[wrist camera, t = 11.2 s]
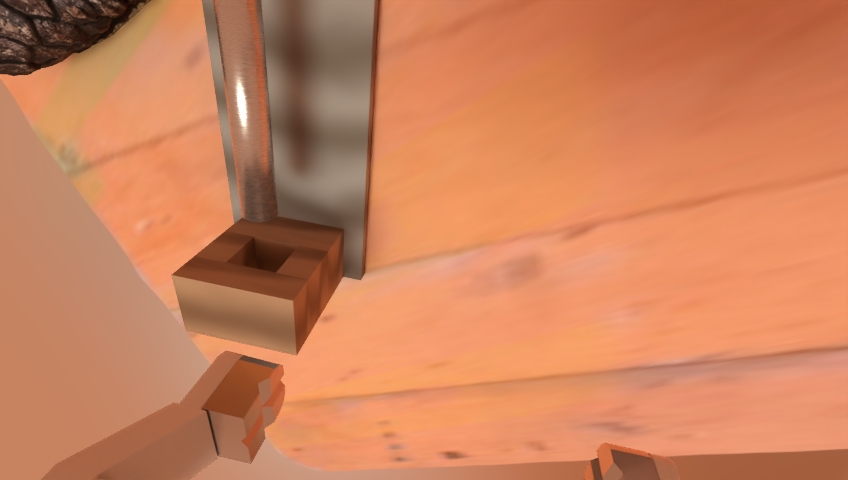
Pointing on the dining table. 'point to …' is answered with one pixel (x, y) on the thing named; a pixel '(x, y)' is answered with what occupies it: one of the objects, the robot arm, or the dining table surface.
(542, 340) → the dining table surface
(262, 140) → the hook rod
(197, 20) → the dining table surface
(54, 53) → the pine cone
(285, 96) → the eye post
